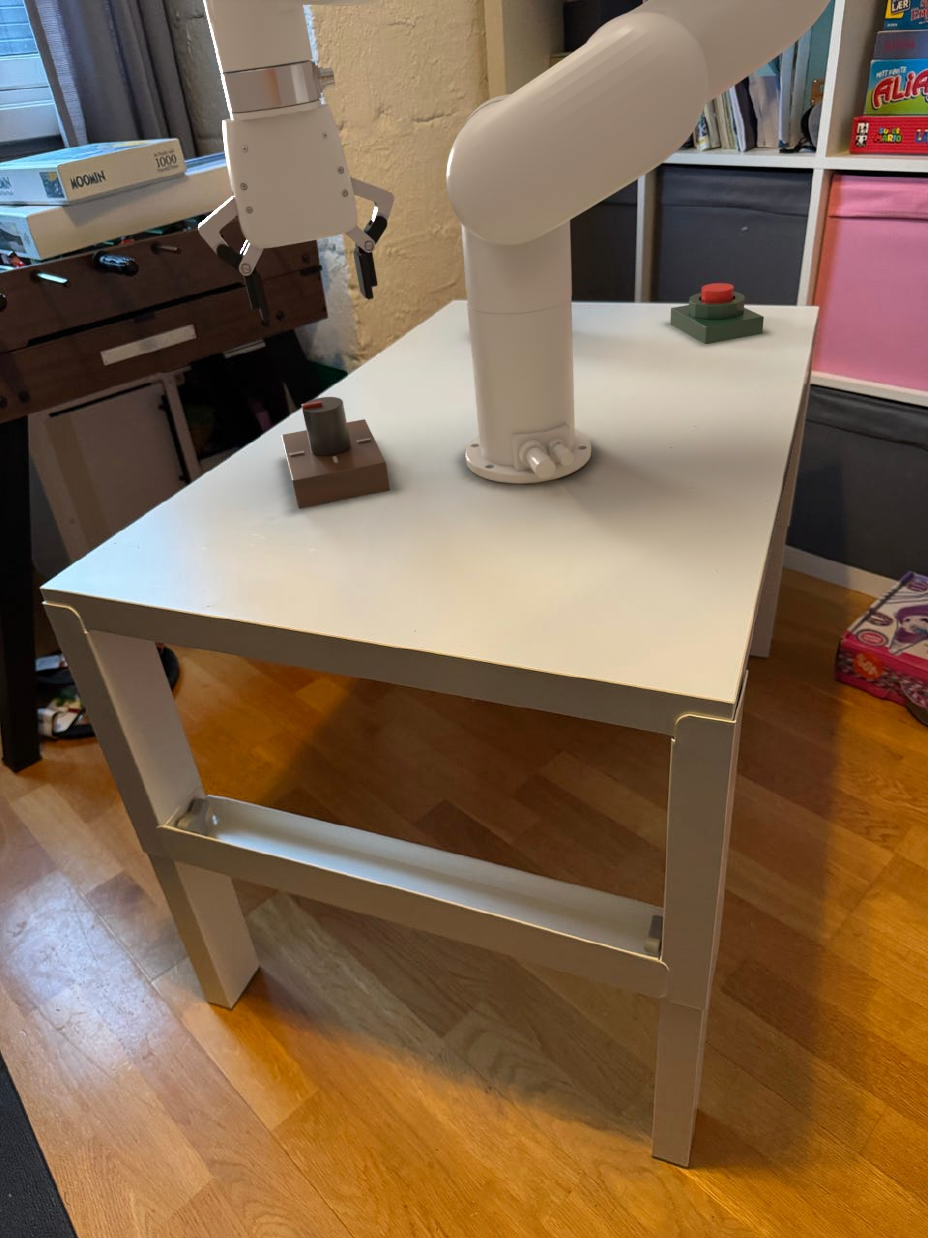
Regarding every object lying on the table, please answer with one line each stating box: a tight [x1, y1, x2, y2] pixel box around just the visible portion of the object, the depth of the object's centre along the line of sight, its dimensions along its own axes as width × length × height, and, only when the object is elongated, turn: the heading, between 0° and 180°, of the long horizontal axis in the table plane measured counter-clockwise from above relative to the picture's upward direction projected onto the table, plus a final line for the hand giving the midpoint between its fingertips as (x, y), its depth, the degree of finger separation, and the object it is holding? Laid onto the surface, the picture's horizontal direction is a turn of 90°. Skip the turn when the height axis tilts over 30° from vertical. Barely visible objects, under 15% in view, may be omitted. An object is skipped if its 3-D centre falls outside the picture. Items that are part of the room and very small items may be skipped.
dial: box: [301, 396, 351, 456], centre depth 87 cm, size 4×4×5 cm
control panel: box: [280, 418, 391, 510], centre depth 89 cm, size 12×9×3 cm
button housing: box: [670, 291, 765, 345], centre depth 115 cm, size 10×8×4 cm
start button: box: [700, 282, 735, 303], centre depth 114 cm, size 4×4×2 cm
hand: (316, 305), depth 82 cm, fingers open, 9 cm apart
